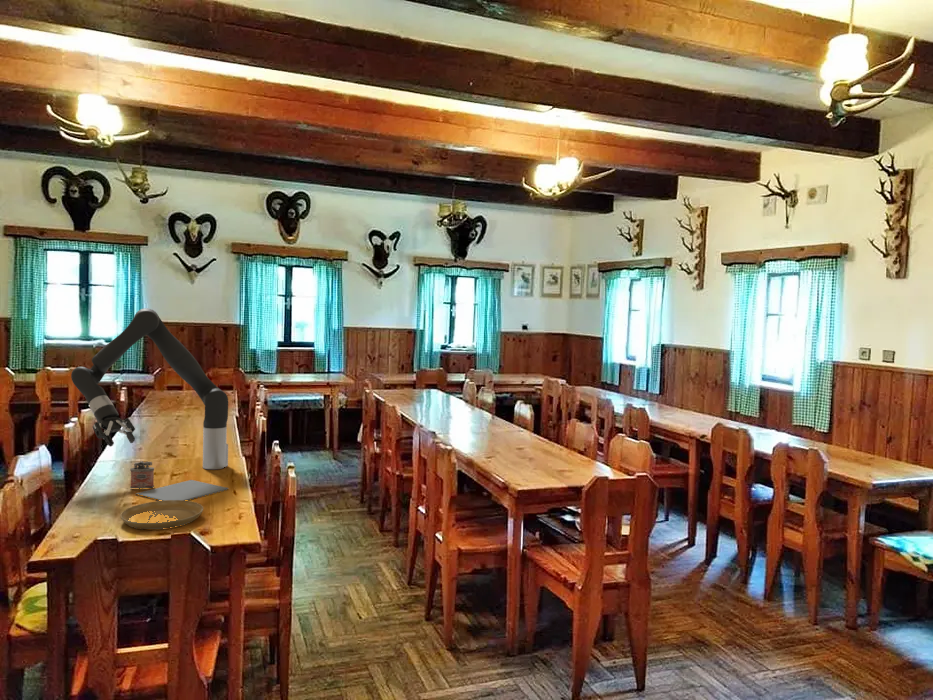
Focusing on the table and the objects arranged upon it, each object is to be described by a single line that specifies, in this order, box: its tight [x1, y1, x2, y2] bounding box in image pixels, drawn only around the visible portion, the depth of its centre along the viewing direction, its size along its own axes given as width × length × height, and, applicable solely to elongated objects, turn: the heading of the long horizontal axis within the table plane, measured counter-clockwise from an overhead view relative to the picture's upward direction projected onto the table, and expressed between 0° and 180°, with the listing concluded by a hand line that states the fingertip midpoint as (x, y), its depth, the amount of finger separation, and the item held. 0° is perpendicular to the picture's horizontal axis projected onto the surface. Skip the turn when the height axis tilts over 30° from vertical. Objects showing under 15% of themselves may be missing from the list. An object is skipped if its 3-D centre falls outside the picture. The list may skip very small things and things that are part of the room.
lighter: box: [129, 460, 155, 489], centre depth 254 cm, size 8×3×10 cm, turn 105°
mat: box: [135, 479, 229, 501], centre depth 251 cm, size 24×20×1 cm
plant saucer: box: [120, 500, 204, 530], centre depth 219 cm, size 24×24×3 cm
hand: (122, 443), depth 259 cm, fingers open, 8 cm apart
